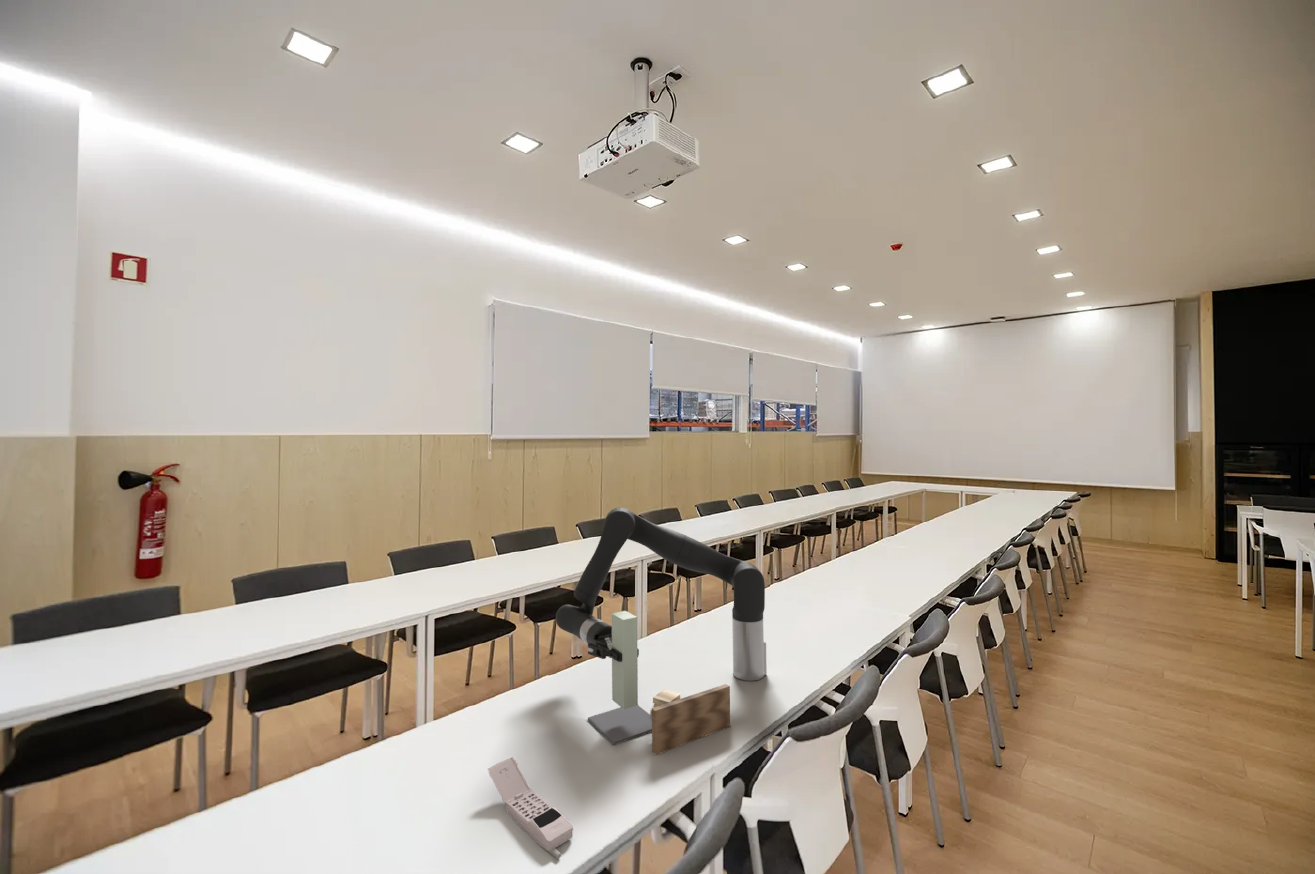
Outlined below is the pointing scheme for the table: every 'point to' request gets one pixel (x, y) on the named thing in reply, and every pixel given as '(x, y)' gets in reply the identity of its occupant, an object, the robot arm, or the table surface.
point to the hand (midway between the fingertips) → (629, 655)
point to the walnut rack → (690, 718)
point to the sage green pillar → (625, 660)
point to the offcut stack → (664, 698)
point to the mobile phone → (530, 808)
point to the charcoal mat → (622, 723)
